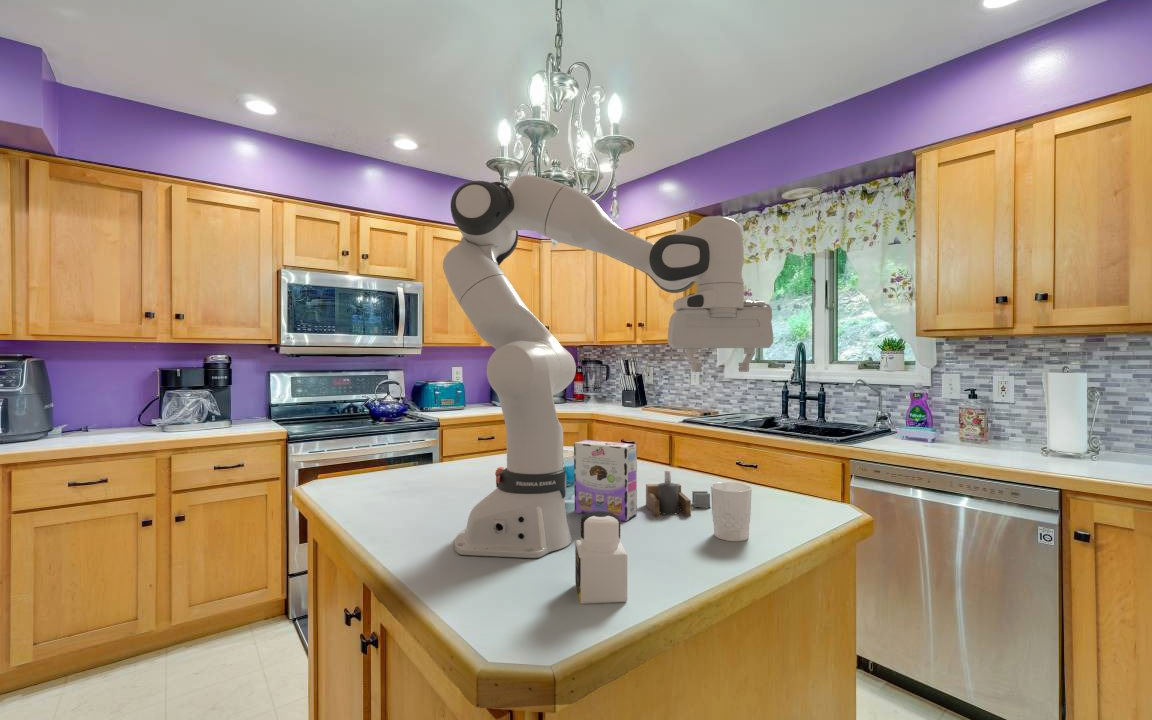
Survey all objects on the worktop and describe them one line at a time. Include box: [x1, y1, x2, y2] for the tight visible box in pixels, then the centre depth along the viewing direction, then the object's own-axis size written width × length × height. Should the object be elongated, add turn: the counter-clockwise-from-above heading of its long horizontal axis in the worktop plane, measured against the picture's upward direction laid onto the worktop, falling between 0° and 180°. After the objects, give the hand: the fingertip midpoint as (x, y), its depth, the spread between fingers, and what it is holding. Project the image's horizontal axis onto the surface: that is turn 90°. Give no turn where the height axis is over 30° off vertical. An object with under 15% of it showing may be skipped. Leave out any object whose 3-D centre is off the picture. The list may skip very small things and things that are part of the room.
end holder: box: [645, 483, 692, 518], centre depth 126 cm, size 8×10×5 cm
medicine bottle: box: [574, 511, 628, 605], centre depth 81 cm, size 7×7×12 cm
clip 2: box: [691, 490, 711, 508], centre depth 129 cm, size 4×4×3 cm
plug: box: [657, 469, 679, 515], centre depth 125 cm, size 5×5×9 cm
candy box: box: [573, 439, 638, 522], centre depth 123 cm, size 14×6×16 cm, turn 58°
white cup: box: [710, 481, 753, 542], centre depth 107 cm, size 8×8×10 cm
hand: (720, 371), depth 104 cm, fingers open, 8 cm apart
